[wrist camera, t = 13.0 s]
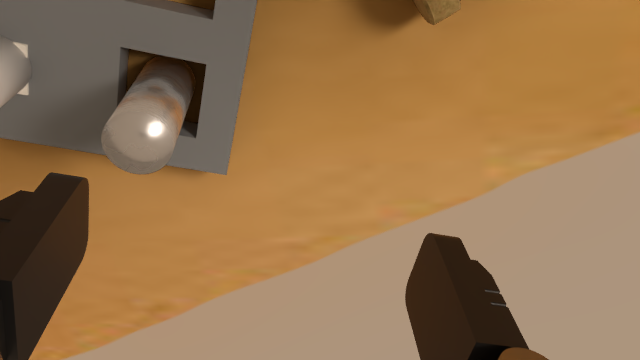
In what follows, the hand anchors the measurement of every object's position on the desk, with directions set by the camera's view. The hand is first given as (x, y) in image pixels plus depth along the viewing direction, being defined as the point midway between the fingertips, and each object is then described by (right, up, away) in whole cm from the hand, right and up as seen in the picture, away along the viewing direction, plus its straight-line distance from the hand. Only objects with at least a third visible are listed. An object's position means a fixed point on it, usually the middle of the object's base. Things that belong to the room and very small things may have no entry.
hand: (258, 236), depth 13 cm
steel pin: (-9, +8, +24) cm, 26 cm away
